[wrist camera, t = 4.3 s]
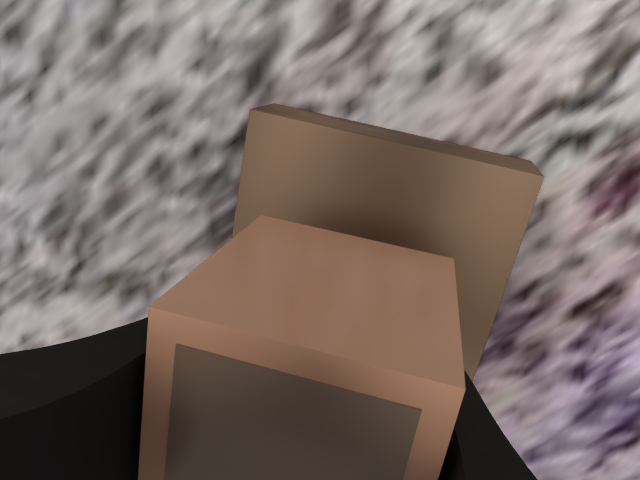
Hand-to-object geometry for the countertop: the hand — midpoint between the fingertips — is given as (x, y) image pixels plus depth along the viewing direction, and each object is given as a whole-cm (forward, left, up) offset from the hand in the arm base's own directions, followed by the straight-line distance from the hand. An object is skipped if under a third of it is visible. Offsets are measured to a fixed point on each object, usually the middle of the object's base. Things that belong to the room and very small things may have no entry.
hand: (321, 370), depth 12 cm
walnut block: (0, 0, -9) cm, 9 cm away
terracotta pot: (0, 0, -2) cm, 2 cm away
